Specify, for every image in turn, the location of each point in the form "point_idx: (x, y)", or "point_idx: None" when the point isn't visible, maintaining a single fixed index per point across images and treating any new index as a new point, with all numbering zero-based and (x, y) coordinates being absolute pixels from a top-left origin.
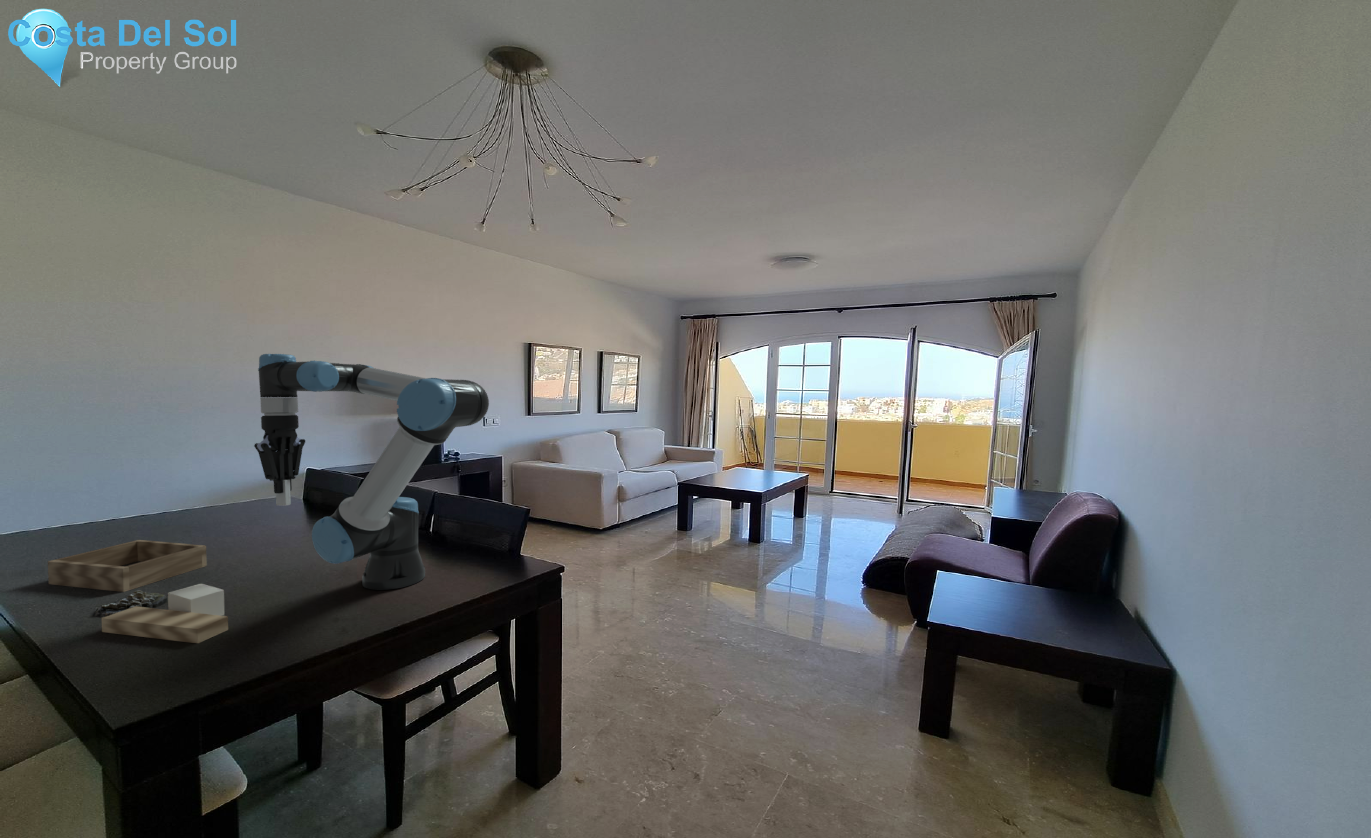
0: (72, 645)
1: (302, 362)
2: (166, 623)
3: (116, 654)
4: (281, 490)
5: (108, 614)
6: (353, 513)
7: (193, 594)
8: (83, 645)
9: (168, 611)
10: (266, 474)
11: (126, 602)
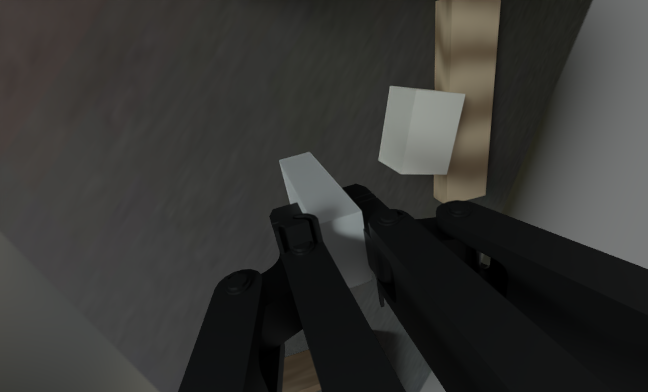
0: (503, 171)
1: None
2: (489, 77)
3: (518, 82)
4: (350, 194)
5: None
6: None
7: (445, 120)
8: (501, 158)
9: None
10: (500, 269)
11: None
